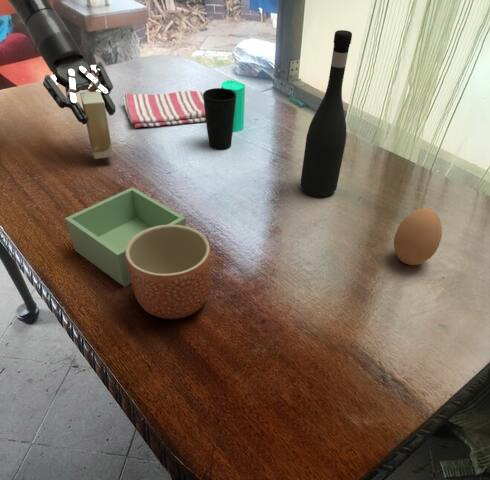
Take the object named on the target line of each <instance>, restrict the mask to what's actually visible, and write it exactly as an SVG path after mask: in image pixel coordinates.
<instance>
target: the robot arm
mask: <svg viewBox="0 0 490 480" xmlns="http://www.w3.org/2000/svg"><path fill="white" fill-rule="evenodd" d="M6 1H7V3H8V4H9V5H10V6H11V7H12V8H13V10H14V11H15V13H16V14H17V16H18V18H19V19H20V21H21V22H22V24H23V26H24V27H25V29H26V31H27V33H28V35H29V37H30V39H31V41H32V43H33V45H34V46H35V48H36V49H37V51H38V52H39V54H40V56H41V57H42V59H43V62H44V63H45V64H46V65H47V67H48V70H49V71H50V72H52V75H50V74H45V75H44V77H43V82H42V86H43V87H44V88H45V90H46V92H48V93H49V95H50V97H52V99H53V100H54V102H55V103H56V104H57V106H58V107H59V108H60V109H64V108H68V109H70V110H71V112H72V114H73V115H74V117H75V118H76V120H77V122H79V123H81V124H82V125H86V123H87V122H88V117H87V116H86V114H85V112H84V110H83V106H82V105H81V104H80V102H77V93H79V92H80V91H87V92H96V91H100V93H101V95H102V98H103V100H104V103H105V109H106V113H107V114H108V115H109V116H114V115H115V113H116V109H117V107H116V104H115V103H114V102H113V99H112V98H111V97H110V94H111V92H112V90H113V89H114V85H113V83H112V81H111V78H110V77H109V75H108V72H107V70H106V69H105V66H104V65H103V63H102V61H97V63H96V64H89V63H88V62H87V61H86V60H85V57H84V55H83V53H82V51H81V49H80V47H79V46H78V44H77V42H76V41H75V39H74V37H73V36H72V34H71V32H70V31H69V29H68V27H67V26H66V24H65V22H64V21H63V20H62V18H61V17H60V15H59V14H58V12H57V11H56V10H55V8H54V6H53V4H52V3H51V1H50V0H6ZM92 73H93V74H92ZM58 84H59V85H60V86H62V87H64V90H65V91H64V92H65V94H64V93H63V91H62V89H60V87H59V86H58Z"/></svg>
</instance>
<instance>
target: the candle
mask: <svg viewBox="0 0 490 480" xmlns="http://www.w3.org/2000/svg"><path fill="white" fill-rule="evenodd" d="M221 88H224V89H229V90H232V91H233V92H235V93H236V103H235V113H234V123H233V132H232V133H235V132H237V133H238V132H240V131H242V130H244V127H245V95H246V94H245V93H246V85H245V83H242V82H240V81H237V80H234V77H232V79H228V80H225V81H223V82H221Z"/></svg>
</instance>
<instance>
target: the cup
mask: <svg viewBox="0 0 490 480" xmlns="http://www.w3.org/2000/svg"><path fill="white" fill-rule="evenodd" d="M202 93H203V99H204V107H205V116H206V121H205V124H206V132H207V133H206V134H207V141H208V147H209V148H210V149H212V150H216V151H225V150H229V149H230V148H231V147H232V142H233V133H234V132H233V123H234V113H235V103H236V93H235V92H233V91H232V90H229V89H224V88H222V87H215V88H208V89H206V90H204V91H203V92H202Z"/></svg>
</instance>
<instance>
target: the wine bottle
mask: <svg viewBox="0 0 490 480" xmlns="http://www.w3.org/2000/svg"><path fill="white" fill-rule="evenodd" d="M352 38H353V33H352V32H351V31H350V30H346V29H340V30H336V31H335V32H334V36H333V48H332V56H331V62H330V70H329V75H328V82H327V87H326V91H325V93H324V96H323V98H322V100H321V102H320V104H319V106H318V108H317V110H316V111H315V113H314V115H313V117H312V119H311V121H310V124H309V126H308V130H307V132H306V138H305V145H304V152H303V153H304V154H303V161H302V167H301V168H302V169H301V176H300V188H301V189H302V191H303V192H304V193H306V194H307V195H309V196H312V197H318V198H320V197H321V198H323V197H328V196H331V195H332V194H334V193H335V191H336V190H337V187H338V183H339V177H340V174H341V173H340V172H341V168H342V162H343V159H344V158H343V157H344V152H345V148H346V142H347V122H346V121H347V120H346V115H345V110H344V105H343V103H344V102H343V83H344V78H345V72H346V66H347V61H348V56H349V49H350V46H351V44H352V40H353V39H352Z"/></svg>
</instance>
